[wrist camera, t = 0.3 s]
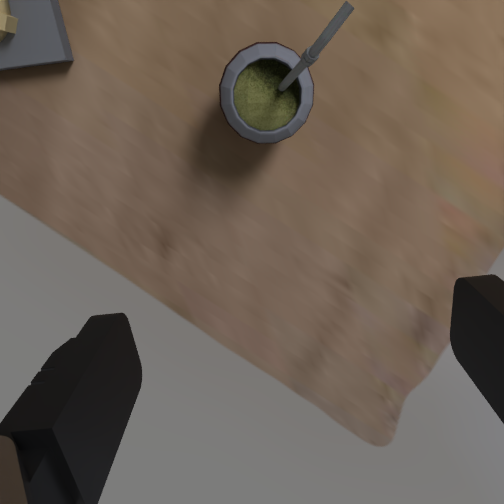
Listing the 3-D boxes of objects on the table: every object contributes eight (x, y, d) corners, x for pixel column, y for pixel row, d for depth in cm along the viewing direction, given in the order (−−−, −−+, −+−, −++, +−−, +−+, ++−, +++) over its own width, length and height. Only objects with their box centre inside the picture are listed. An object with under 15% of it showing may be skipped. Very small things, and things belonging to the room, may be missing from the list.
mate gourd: (225, 135, 36) (207, 168, 22) (222, 36, 33) (198, 2, 19) (308, 134, 36) (342, 166, 22) (312, 35, 33) (355, 0, 19)
